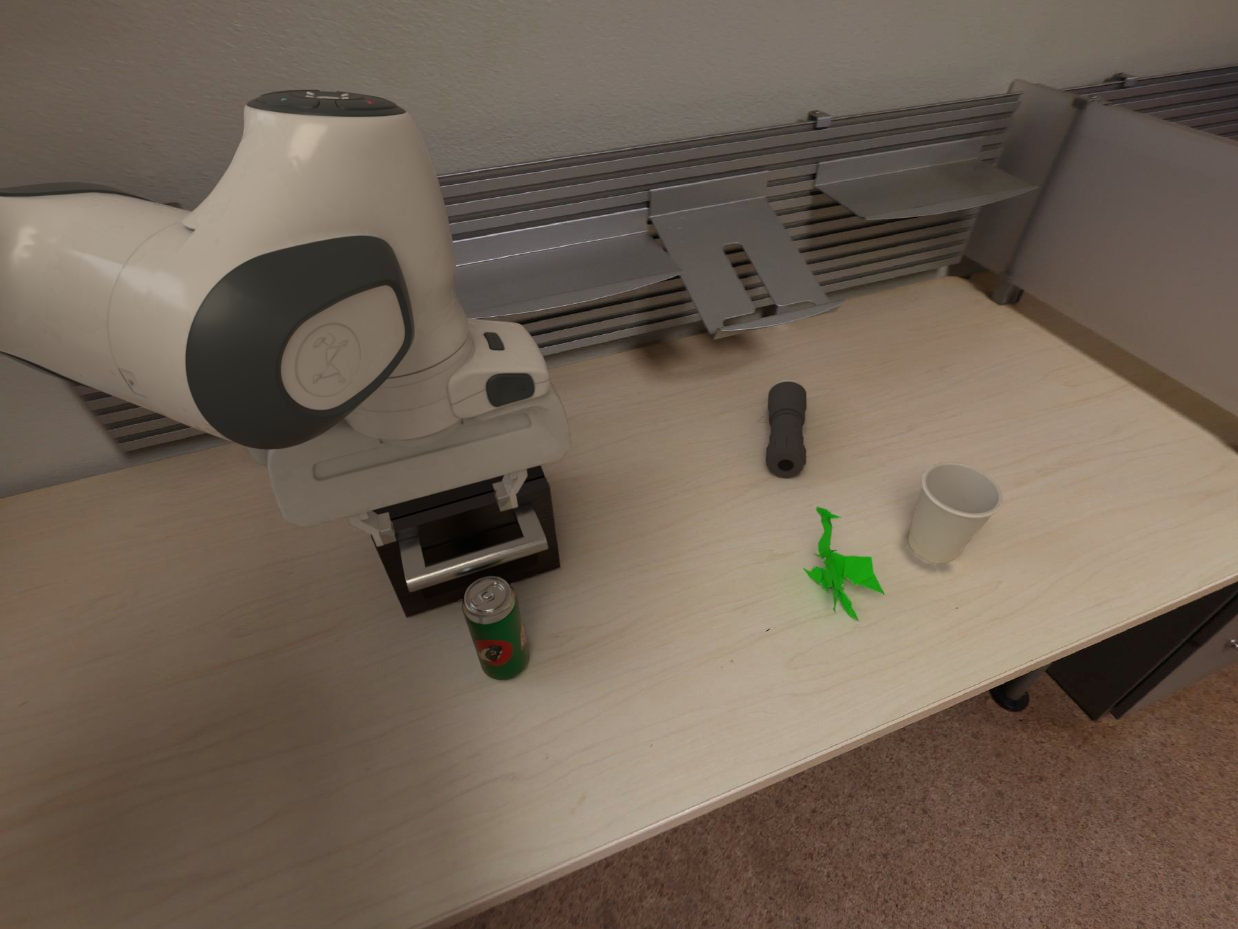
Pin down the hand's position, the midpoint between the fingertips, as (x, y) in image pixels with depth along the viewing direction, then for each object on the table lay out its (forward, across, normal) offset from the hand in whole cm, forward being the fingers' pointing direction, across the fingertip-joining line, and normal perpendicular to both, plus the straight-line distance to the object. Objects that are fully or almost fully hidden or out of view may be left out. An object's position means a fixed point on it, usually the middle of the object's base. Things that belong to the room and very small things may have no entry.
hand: (448, 520), depth 50 cm
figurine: (+24, +39, -4) cm, 45 cm away
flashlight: (+23, +47, +19) cm, 56 cm away
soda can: (+24, +2, +1) cm, 24 cm away
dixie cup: (+23, +54, -4) cm, 59 cm away
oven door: (+23, +2, +8) cm, 25 cm away
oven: (+24, +2, +19) cm, 30 cm away
